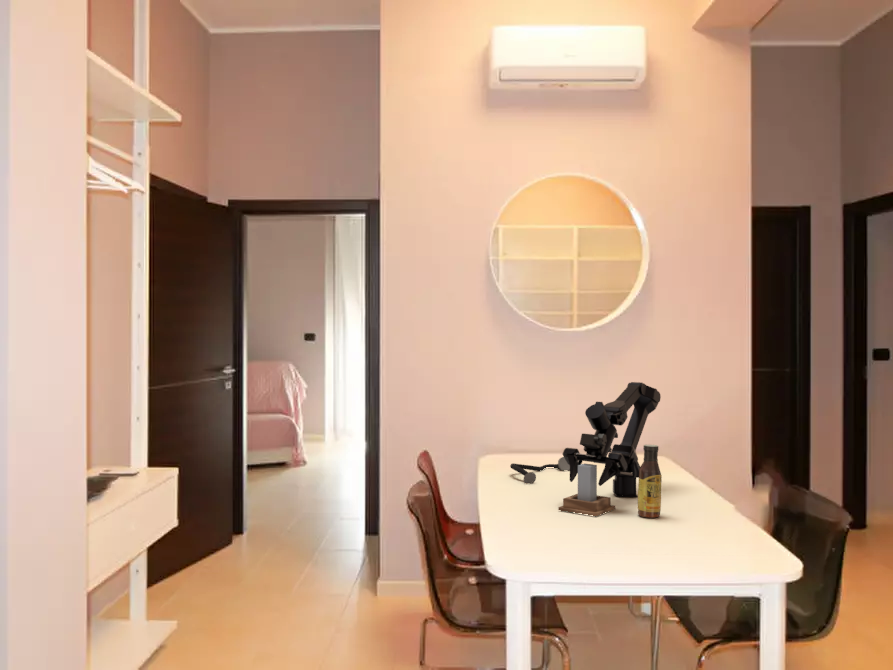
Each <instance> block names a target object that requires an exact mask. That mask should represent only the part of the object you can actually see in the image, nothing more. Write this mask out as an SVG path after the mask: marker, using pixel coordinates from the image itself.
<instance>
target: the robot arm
mask: <svg viewBox="0 0 893 670" xmlns="http://www.w3.org/2000/svg"><path fill="white" fill-rule="evenodd" d="M661 397H662V396H661V393H660V391H658V389H657V388H654V387H651V386H649V385H647V384H645V383H643V382H639V381H638V382H637V381H634V382H633V381H631V382H628V384H627V386H626V387H625V389H624V390H623V391H622V392H621V394H620V395H619V396H618V397H617V398H616V399H615V400H613V401H610V402H606V403H605V404H604V403H603V401H595V403H594V404H592V405H590V406H589V407H588V408H586V409H585V413H584V414H585V417H586V419H587V420H588V422H589V424H590V426H591V428H592V430H594V431H595V432H594V434H591V433H581V436H580V440H579V445H581V446H583V451H584V452H585V453H581V452H580V451H579V449H578V448H576V447H575V448H574V447H565V448H564V450H563V452H562V455H563V456H562V457H564V458H565V460H566V461H567V463H568V464H569V465H570V470H569V482H571V483H573V481H574V480H575V478H576V476H578V465H581V464H583V462H589V463H590V462H591V463H594V464H602V465H604V467H603V470H602V473H601V475H600V477H599V480H598V484H597V485H598V486H600V487H601V486H603V485H604V484H605V483H607V482H608V481H609V480H610V479H611V478H613V477H614V478H613V479H612V493H613V494H614V496H615V497H619V498H625V497H626V498H638V493H637V478H638V479H639V469H640V467H641V465H640V464H639V457H638V454H637V447H638V444H639V442H640V438H641V436H642V434H643V431H644V427H645V425H646V422H647V419H648V416H649V415H650V414H651V413H652V412H654V411H655V410H656V409H657V407H658V404H659V403H660V402H661ZM632 407H633V410H632V414H631V416H630V418H629V421H628V423H627V426H626V429H625V432H624V434H623V438H622V440H621V442H620V444H617V443H615V444H614V445H612V444H613V442H614V439H617V438H619V433H618V432H617V431H618V430H617V428H616V426H620V427H621V426H623V425H624V424H625V422H626V420H627V419H628V411H629V410H631V408H632Z"/></svg>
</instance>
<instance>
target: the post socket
mask: <svg viewBox="0 0 893 670" xmlns="http://www.w3.org/2000/svg"><path fill="white" fill-rule="evenodd" d="M562 500H563V501H562V505H561V506H558V507H557V508H558V509H557V510H561V511H560V512H562V511H568V512H575V513H582V514H588V515H593V516H598V515H600V514H603V513H605V512H608V511H610V512H612V511H614V509H615V510H616V505H612V504H611V503H612V500H611V497H610V496H603V495H597V500H596V501H593V502H590V501H584V500H578V493H576V494H573V495H570V496H567V497H563V498H562ZM611 510H612V511H611ZM568 512H567V513H568ZM608 513H609V512H608ZM605 514H606V513H605ZM603 515H604V514H603ZM600 516H601V515H600ZM598 517H599V516H598Z"/></svg>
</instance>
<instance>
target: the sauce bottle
mask: <svg viewBox="0 0 893 670" xmlns="http://www.w3.org/2000/svg"><path fill="white" fill-rule="evenodd" d="M658 453H659V445H657V444H643V462H642V463H641V465H640V469H639V478H638V484H637V485H638V487H637V510H638V511H637V515H638V516H639V517H642V518H649V519H651V518H652V519H655V518H658V517H660V516H661V507H662V506H661V505H662V482H663V481H662V478H663V477H662V475H663V474H662V472H661V470H660V466H659V459H658V455H659V454H658Z"/></svg>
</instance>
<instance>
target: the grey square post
mask: <svg viewBox="0 0 893 670" xmlns="http://www.w3.org/2000/svg"><path fill="white" fill-rule="evenodd" d="M597 469H598V465H597V464H593V463H592V464H591V463H582V464H581V465H578V473H577V494H578V500H584V501H590V502H593V501H596V500H597V492H598V489H597V485H598V484H597V481H598V480H597V479H598V478H597V477H598V476H597V475H598V474H597V473H598V471H597Z"/></svg>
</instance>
